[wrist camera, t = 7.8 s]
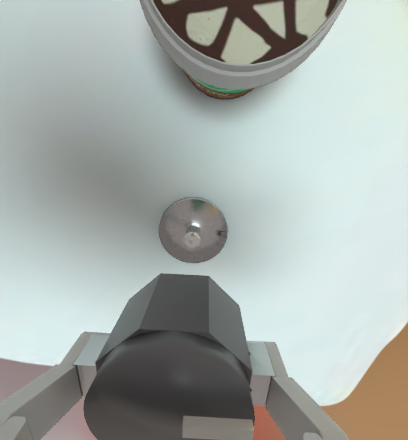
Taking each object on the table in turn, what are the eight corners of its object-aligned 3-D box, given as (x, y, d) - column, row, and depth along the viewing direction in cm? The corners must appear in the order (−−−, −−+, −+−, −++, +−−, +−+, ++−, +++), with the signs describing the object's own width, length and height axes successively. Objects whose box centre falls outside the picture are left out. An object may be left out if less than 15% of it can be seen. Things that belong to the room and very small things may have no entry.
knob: (133, 357, 12) (89, 475, 8) (127, 271, 11) (64, 361, 6) (231, 362, 12) (245, 485, 8) (242, 277, 11) (269, 372, 6)
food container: (152, 96, 20) (105, 46, 11) (162, 20, 18) (115, -121, 9) (270, 125, 21) (324, 103, 12) (291, 56, 19) (375, -40, 10)
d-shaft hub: (161, 257, 26) (153, 275, 22) (160, 195, 23) (151, 203, 20) (223, 260, 26) (226, 278, 22) (229, 199, 23) (234, 208, 20)
